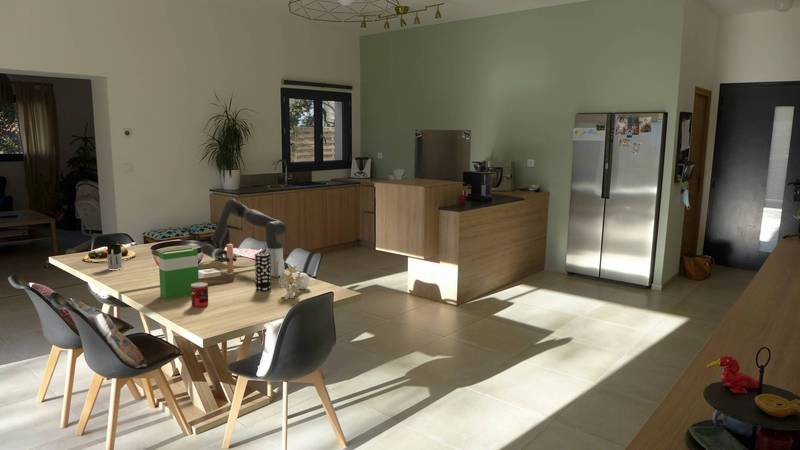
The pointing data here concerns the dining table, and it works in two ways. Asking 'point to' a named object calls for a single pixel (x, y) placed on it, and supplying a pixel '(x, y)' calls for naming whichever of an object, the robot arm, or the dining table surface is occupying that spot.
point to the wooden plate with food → (103, 256)
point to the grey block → (208, 272)
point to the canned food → (199, 294)
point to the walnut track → (217, 279)
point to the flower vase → (294, 281)
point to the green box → (177, 272)
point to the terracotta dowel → (230, 259)
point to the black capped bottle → (114, 256)
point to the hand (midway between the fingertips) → (232, 260)
